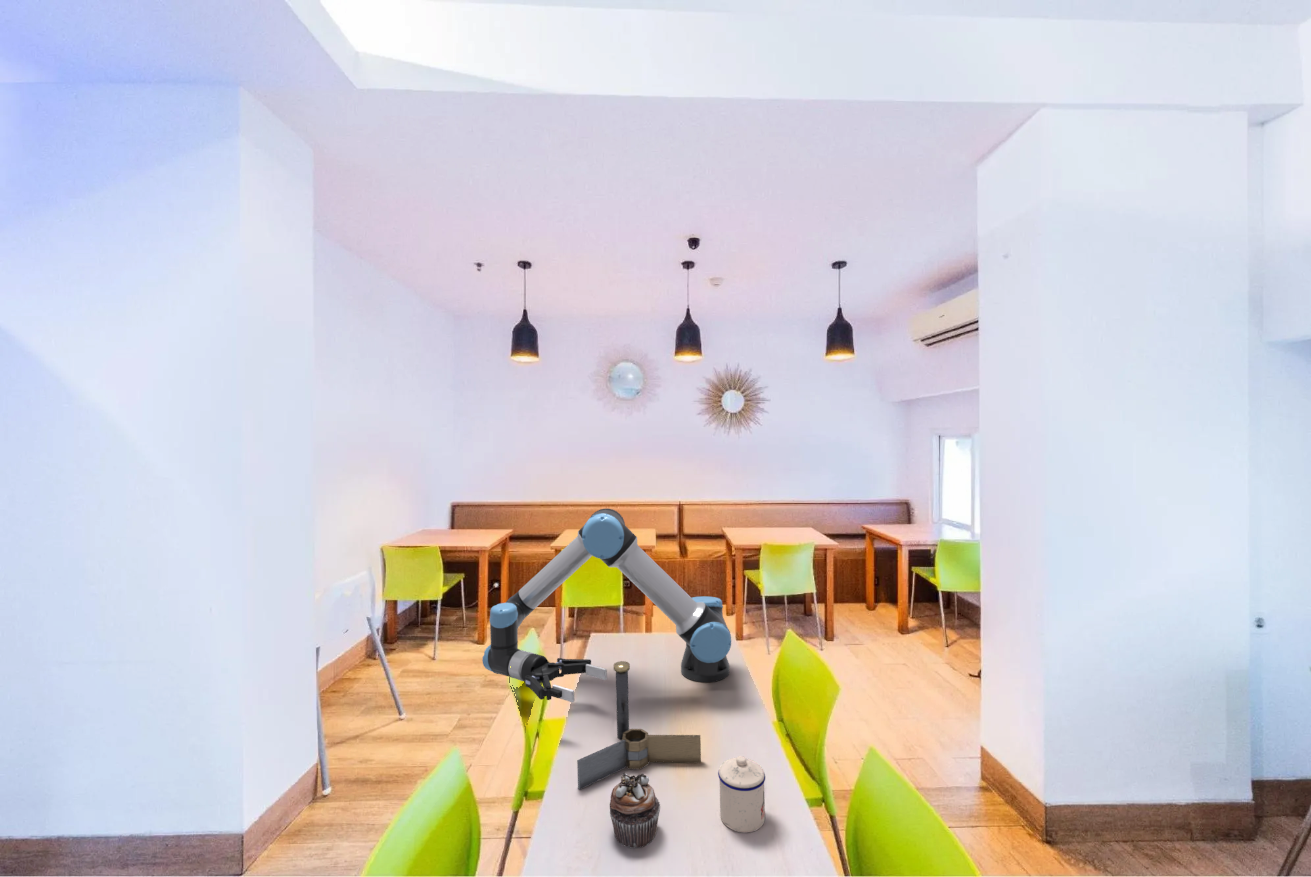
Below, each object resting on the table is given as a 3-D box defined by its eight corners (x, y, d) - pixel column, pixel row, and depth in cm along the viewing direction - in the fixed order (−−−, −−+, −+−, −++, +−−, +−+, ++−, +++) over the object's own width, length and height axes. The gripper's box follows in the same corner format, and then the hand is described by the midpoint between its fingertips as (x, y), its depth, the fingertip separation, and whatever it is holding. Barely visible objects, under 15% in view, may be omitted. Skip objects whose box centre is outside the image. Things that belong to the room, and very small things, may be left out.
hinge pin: (631, 732, 135) (630, 661, 135) (630, 741, 131) (628, 668, 131) (616, 732, 135) (614, 661, 135) (614, 741, 131) (612, 668, 131)
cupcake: (609, 853, 96) (608, 798, 96) (610, 815, 106) (609, 765, 106) (662, 850, 97) (661, 795, 97) (659, 812, 107) (658, 762, 106)
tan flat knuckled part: (700, 754, 125) (699, 729, 125) (701, 769, 119) (700, 743, 119) (624, 753, 126) (624, 728, 126) (622, 769, 120) (621, 743, 120)
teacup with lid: (773, 830, 101) (772, 769, 101) (727, 838, 99) (726, 776, 99) (750, 789, 113) (749, 734, 113) (709, 795, 111) (708, 739, 111)
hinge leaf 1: (638, 750, 127) (638, 726, 127) (653, 762, 122) (653, 736, 122) (572, 781, 116) (571, 754, 116) (585, 795, 112) (585, 767, 112)
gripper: (559, 663, 160) (618, 679, 149) (495, 700, 138) (558, 722, 127) (559, 638, 160) (617, 653, 149) (494, 671, 138) (557, 691, 127)
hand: (590, 685), depth 138 cm, fingers open, 13 cm apart
